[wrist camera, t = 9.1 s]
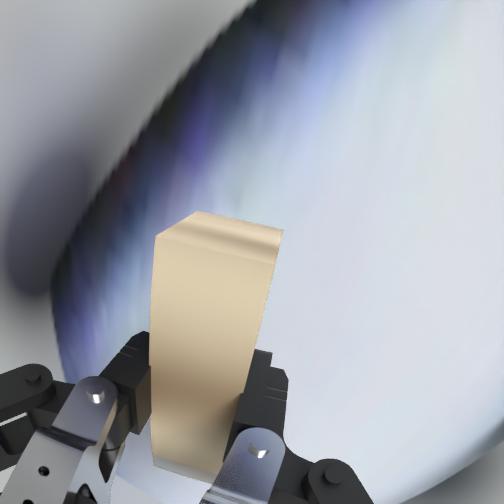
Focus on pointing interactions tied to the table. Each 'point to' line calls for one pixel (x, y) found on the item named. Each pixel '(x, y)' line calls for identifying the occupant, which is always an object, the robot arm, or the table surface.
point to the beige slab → (204, 334)
